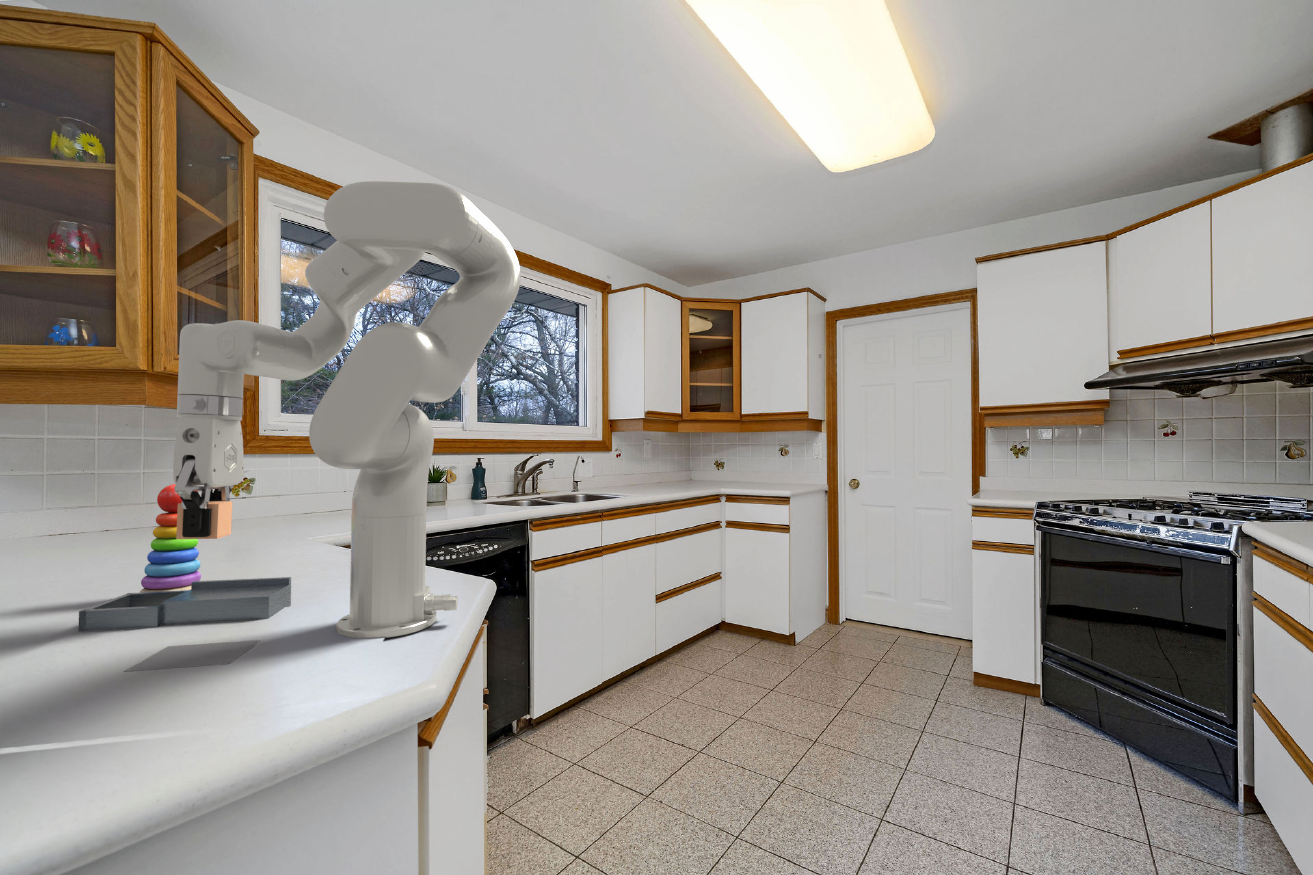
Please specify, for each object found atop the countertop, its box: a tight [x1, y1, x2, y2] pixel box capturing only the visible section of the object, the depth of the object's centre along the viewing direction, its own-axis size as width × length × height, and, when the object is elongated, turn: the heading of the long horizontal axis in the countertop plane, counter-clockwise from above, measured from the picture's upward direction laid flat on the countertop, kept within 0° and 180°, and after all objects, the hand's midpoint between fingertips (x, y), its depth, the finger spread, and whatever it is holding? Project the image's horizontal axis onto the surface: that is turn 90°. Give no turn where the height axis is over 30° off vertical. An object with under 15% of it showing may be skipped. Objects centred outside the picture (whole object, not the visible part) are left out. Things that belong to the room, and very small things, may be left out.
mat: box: [122, 639, 262, 673], centre depth 65 cm, size 10×8×1 cm
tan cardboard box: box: [176, 500, 233, 540], centre depth 81 cm, size 5×4×5 cm
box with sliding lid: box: [77, 576, 292, 632], centre depth 81 cm, size 22×10×4 cm, turn 104°
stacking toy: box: [138, 483, 202, 593], centre depth 92 cm, size 8×8×19 cm
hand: (205, 532), depth 81 cm, fingers closed on tan cardboard box, 4 cm apart
